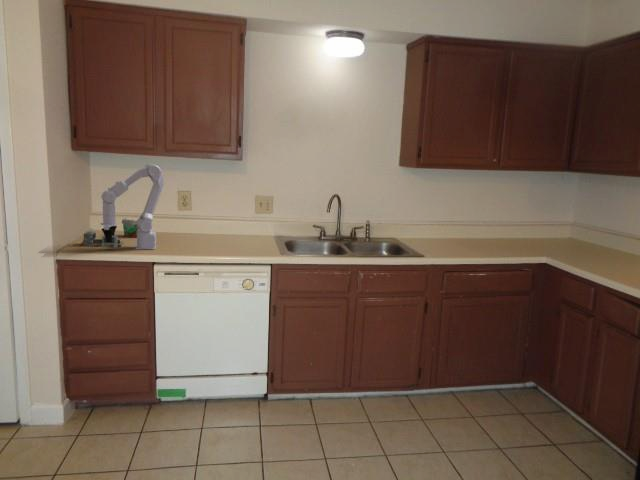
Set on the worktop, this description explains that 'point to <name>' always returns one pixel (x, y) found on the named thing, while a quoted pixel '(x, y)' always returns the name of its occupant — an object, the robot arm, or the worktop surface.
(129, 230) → the food container
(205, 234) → the worktop surface
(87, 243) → the rail base
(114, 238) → the block
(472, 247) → the worktop surface
